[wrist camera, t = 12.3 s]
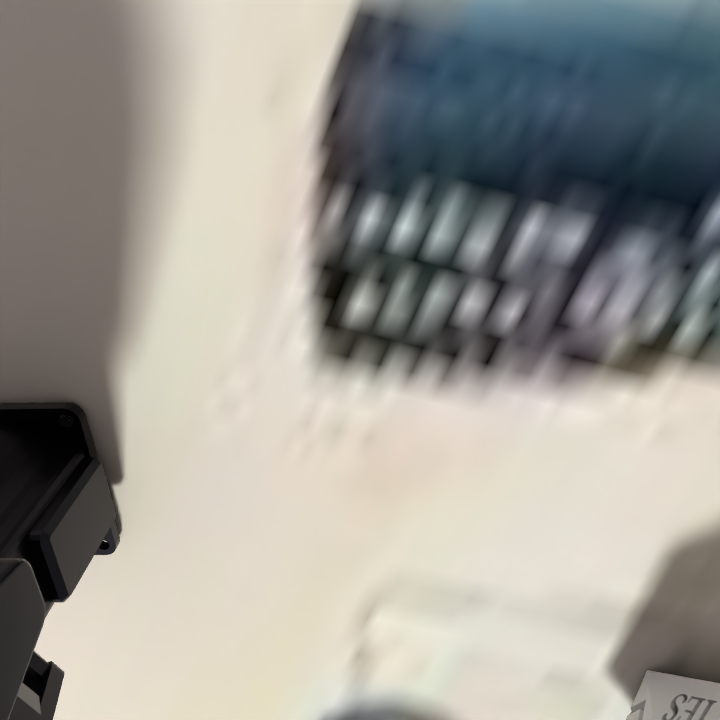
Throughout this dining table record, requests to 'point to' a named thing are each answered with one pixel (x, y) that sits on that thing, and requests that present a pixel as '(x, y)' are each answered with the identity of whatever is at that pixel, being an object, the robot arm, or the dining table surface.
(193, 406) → the dining table surface
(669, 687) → the die
